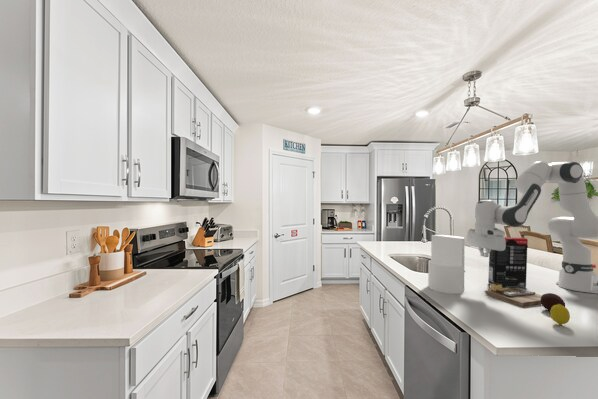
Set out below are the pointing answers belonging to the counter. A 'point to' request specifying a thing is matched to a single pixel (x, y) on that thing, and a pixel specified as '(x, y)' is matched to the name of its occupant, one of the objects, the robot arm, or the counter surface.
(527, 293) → the bar
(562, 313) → the lemon
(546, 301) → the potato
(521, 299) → the brown square board
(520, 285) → the graphics card box
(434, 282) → the cylinder
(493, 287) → the block
